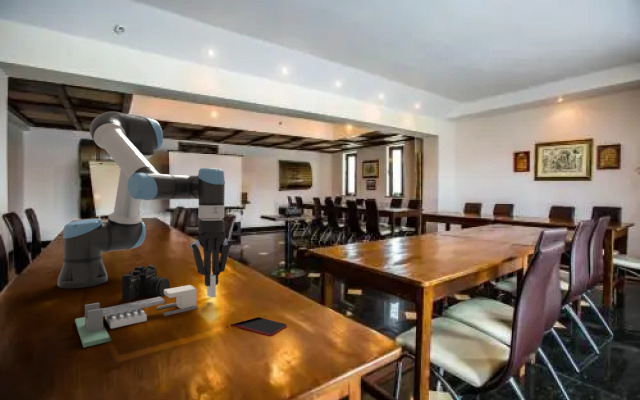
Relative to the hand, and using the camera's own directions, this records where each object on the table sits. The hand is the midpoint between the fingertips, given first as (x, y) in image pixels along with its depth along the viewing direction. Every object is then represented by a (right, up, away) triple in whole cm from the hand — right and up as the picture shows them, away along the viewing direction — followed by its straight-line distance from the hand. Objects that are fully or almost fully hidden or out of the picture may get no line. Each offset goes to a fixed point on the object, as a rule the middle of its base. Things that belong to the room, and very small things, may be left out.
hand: (211, 295), depth 102 cm
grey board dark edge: (-17, +1, -15) cm, 22 cm away
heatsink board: (-15, -3, -12) cm, 19 cm away
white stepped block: (-7, -2, -6) cm, 9 cm away
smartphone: (+17, -4, -14) cm, 22 cm away
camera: (-22, -3, +6) cm, 23 cm away
